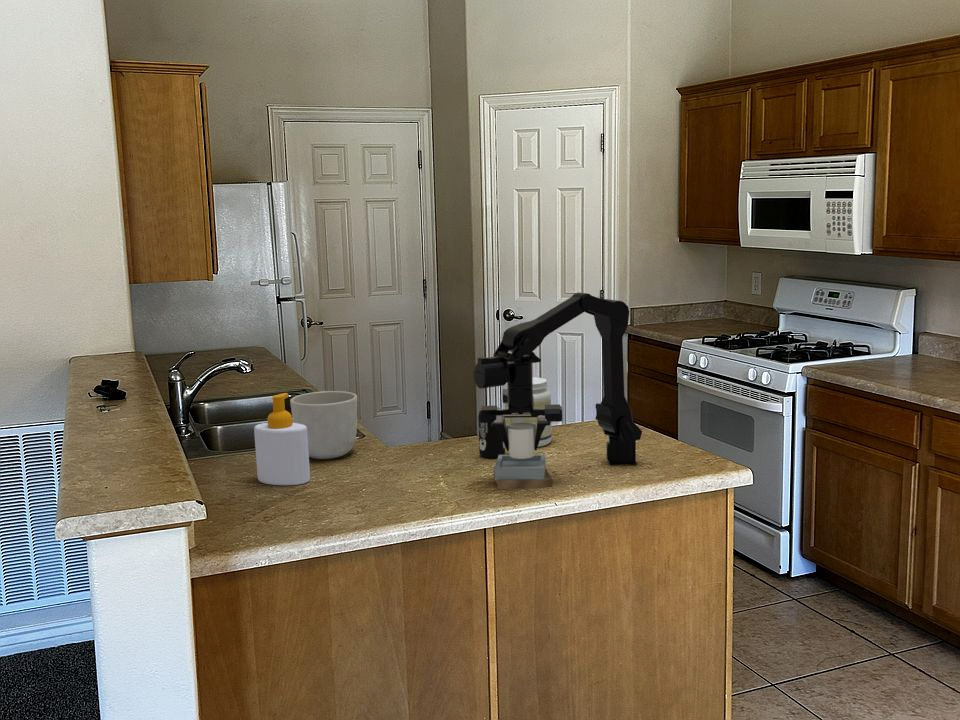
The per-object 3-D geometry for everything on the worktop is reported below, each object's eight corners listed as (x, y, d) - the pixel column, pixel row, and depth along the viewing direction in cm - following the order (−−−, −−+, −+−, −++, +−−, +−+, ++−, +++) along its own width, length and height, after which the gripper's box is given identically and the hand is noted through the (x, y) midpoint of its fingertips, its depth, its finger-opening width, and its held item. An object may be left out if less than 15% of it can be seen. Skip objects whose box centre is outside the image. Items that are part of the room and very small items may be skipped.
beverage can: (502, 459, 222) (501, 412, 220) (477, 458, 223) (475, 412, 221) (507, 452, 228) (506, 406, 226) (482, 451, 229) (480, 406, 227)
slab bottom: (544, 474, 211) (544, 464, 210) (551, 490, 199) (551, 479, 199) (493, 477, 210) (493, 466, 210) (498, 492, 198) (498, 481, 198)
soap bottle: (317, 477, 211) (312, 393, 208) (299, 487, 203) (294, 401, 200) (269, 473, 215) (263, 391, 212) (249, 483, 208) (243, 398, 204)
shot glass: (505, 452, 206) (504, 422, 205) (534, 450, 207) (533, 421, 206) (508, 460, 200) (507, 429, 199) (539, 458, 200) (538, 428, 199)
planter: (368, 446, 237) (365, 391, 235) (348, 464, 221) (344, 405, 218) (308, 445, 240) (304, 390, 238) (283, 463, 224) (279, 404, 221)
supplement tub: (558, 439, 240) (557, 377, 237) (542, 450, 229) (541, 386, 226) (515, 435, 245) (514, 375, 242) (498, 446, 234) (496, 383, 231)
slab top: (545, 465, 209) (545, 454, 209) (544, 479, 198) (543, 467, 198) (499, 465, 210) (498, 454, 210) (494, 479, 199) (494, 468, 199)
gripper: (560, 375, 208) (562, 440, 210) (481, 377, 209) (483, 441, 212) (561, 385, 197) (563, 453, 199) (477, 386, 198) (480, 454, 201)
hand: (521, 450), depth 203 cm, fingers closed on shot glass, 6 cm apart
